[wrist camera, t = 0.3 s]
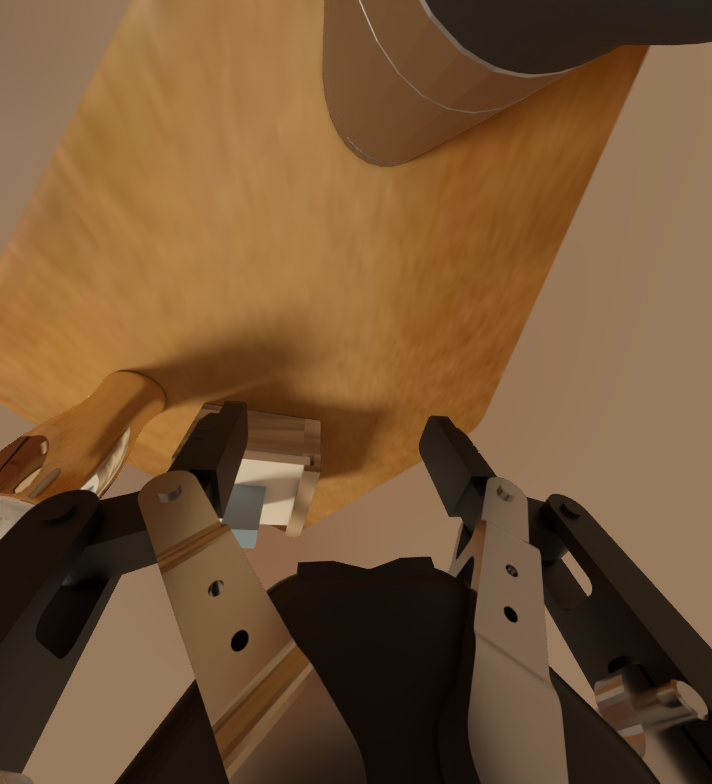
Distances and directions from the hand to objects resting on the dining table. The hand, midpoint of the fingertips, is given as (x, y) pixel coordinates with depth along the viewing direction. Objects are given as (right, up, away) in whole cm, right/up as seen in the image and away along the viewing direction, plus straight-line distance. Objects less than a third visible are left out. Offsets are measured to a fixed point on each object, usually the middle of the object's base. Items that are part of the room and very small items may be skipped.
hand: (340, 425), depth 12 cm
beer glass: (-24, +1, +18) cm, 30 cm away
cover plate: (-12, -10, +20) cm, 25 cm away
